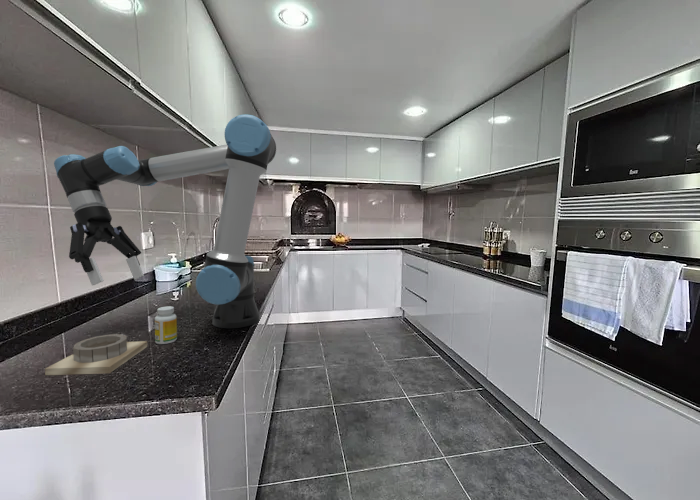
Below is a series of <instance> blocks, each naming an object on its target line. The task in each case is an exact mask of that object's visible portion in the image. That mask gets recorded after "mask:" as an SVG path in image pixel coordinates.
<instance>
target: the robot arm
mask: <svg viewBox="0 0 700 500" xmlns="http://www.w3.org/2000/svg"><path fill="white" fill-rule="evenodd" d="M224 139H225V144H223V145H222V144H221V145H217V146H211V147H204V148H199V149H194V150H188V151H184V152H183V151H181V152H177V153H171V154H166V155H159V156H155V157H154V156H153V157H149V158H144V159H138V158H137V156H136V155H135V154H134V152H133V151H132V150H130V149H129V147H126V146H125V145H119V146H118V145H117V146H116V147H110V148H106V149H105V150H104V151H101V152H99V153H96V154H94V155H91V156H89V157H85V156H83V155H80V154H73V153H71V154H68V155H66V154H65V155H61V156H58V157H56V159H55V160H54V162H53V166H54V169H55V171H56V177H57V179H58V180H59V182H60V184H61V186H62V188H63V190H64V193H65V195H66V198H67V201H68V202H69V205H70V208H71V210H72V212H73V213H74V214H73V215H74V218H75V220H76V223H75V224H73V225H71V226H70V227H69V228H70V232H71V237H70V246H69V252H68V253H69V254H68V258H69V259H70V260H74V261H75V263H80V265H81V267H82V269H83V271H84V272H85V273H86V275H87V277H88V280H89V281H90V284H91V286H96V285H98V284H100V283H103V282H104V280H105V279H104V278H103V275H102V274H101V271H100V269H99V265H98V264H97V262H96V259H95V257H91V255H92V253H93V251H94V248H95V246H96V244H97V243H99V242H101V243H106V244H108V245H111V246H112V247H113V248H114V249H116V250H117V251H119V252H120V253H121V254H122V255H123V256H125V258H127V259H125V261H126V264H127V265H128V268H129V271H130V273H131V275H132V278H133V280H139V279H140V278H142V277H144V276H145V274H144V272H143V271H142V268H141V264H140V262H139V259H138V256H139V255H141V254H142V251H141V250H140V248H139V247H138V246H137V245H136V244H135V243H134V242H133V241H132V239H131V238H130V237H129V236H128V235H127V234H126V232H125V230H124V229H123V227H122V226H121V225H117V226H115V227H113V225H112V223H111V222H112V220H113V219H112V218H113V217H112V215H111V213H110V211H109V208H108V207H107V203H106V200H105V198H104V195H103V193H102V191H101V189H100V186H102V185H105V184H108V183H111V182H113V181H116V180H117V181H121V182H126V183H131V184H134V185H138V186H141V187H152V186H154V185H155V184H157V183H159V182H164V181H168V180H174V179H180V178H185V177H191V176H195V175H197V176H198V175H202V174H209V173H212V172H213V173H214V172H219V171H224V170H225V171H226V170H228V173H227V179H226V184H225V188H224V195H223V199H222V204H221V208H220V209H221V210H220V215H219V219H218V225H217V230H216V235H215V240H214V244H213V245H214V246H213V248H212V250H210V251H209V252H207V253H206V256H205V260H204V266H203V268H202V269H201V270H200V272H199V273H198V274H197V276H196V279H195V288H196V291H197V293H198V295H199V296H200V297H201V299H203V300H204V301H205V302H207V303H208V304H213V305H216V306H215V309H214V312H213V315H212V325H213V327H216V328H220V329H240V328H246V327H250V326H252V325H255V324H257V323H258V322H259V321H260V312H259V309H258V306H257V304H256V300H255V272H254V271H255V269H254V268H255V263H254V257H253V256H251V255H246V254H245V252H246V246H247V242H248V236H249V233H250V232H249V231H250V227H251V222H252V217H253V213H254V208H255V202H256V196H257V193H258V192H257V191H258V188H259V187H258V186H259V182H260V177H261V176H262V175H263V174H265V173H266V172H267V170H268V166H269V164H270V163H272V161H273V160H274V158H275V156H276V153H277V144H276V141H275V139H274V137H273V136H272V134H271V132H270V129H269V127H268V125H267V124H266V123H265V122H264V121H263V120H262V119H260V118H259V117H257V116H255V115H252V114H247V113H246V114H245V113H243V114H238V115H237V116H234V117H232V118H231V119H230V120H229V122H227V124H226V125H225V129H224Z"/></svg>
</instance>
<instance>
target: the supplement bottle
mask: <svg viewBox="0 0 700 500" xmlns="http://www.w3.org/2000/svg"><path fill="white" fill-rule="evenodd" d="M156 311H157V312H156V313H157V315H156V316H155V317H154V342H155V344H157V345H166V344H172V343H174V342H176V341H177V339H178V324H177V323H178V322H177V321H178V320H177V319H178V316H177V314H176V313H174V312H175V307H174V306H170V305H169V306H161V307H159V308H157V310H156Z"/></svg>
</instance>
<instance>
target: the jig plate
mask: <svg viewBox="0 0 700 500" xmlns="http://www.w3.org/2000/svg"><path fill="white" fill-rule="evenodd" d="M127 337H128V336H127V335H125V334H118V333H115V334H114V333H113V334H111V333H109V334H104V335H97V336H93V337H89V338H86V339H85V338H84V339H83V340H80V341H79V342H75V343H74V345H73V347H72V354H71V355H68V356H66V357H65V358H63V359H60V360H59V361H57V362H55V363H53V364H51V365H49V366H47V367H45V368H44V371H45V372H44V374H45V376H65V375H66V376H68V375H72V376H73V375H97V374H98V375H99V374H101V375H102V374H103V375H104V374H105V375H106V374H111V373H112V372H113V371H115V370H117V369H118V368H120V367H121V366H122V365H123V364H125V363H127V362H128V361H129V360H131V359H133V357H135V356H136V355H138V354H140V353H141V352H142V351H144V350H145V349H147V347H148V341H146V340H145V341H142V340H141V341H127Z"/></svg>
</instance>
